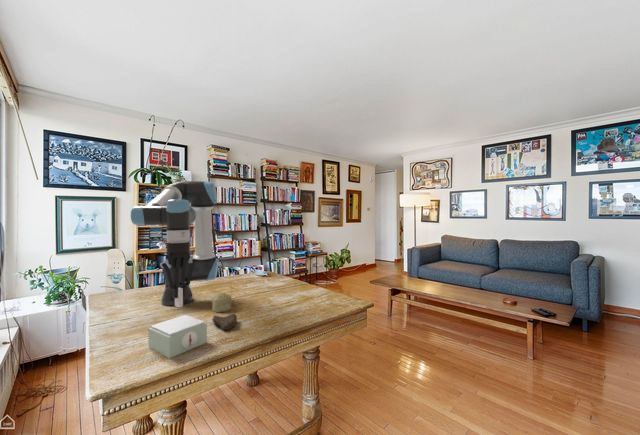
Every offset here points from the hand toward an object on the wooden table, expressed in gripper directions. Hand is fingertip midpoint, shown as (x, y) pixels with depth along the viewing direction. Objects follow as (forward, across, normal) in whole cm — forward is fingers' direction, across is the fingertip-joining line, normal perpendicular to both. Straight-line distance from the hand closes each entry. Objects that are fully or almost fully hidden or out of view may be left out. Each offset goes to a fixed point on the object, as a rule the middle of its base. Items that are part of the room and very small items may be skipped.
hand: (178, 306), depth 101 cm
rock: (+14, +16, +4) cm, 22 cm away
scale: (+14, 0, +1) cm, 14 cm away
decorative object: (+15, +30, +18) cm, 38 cm away
